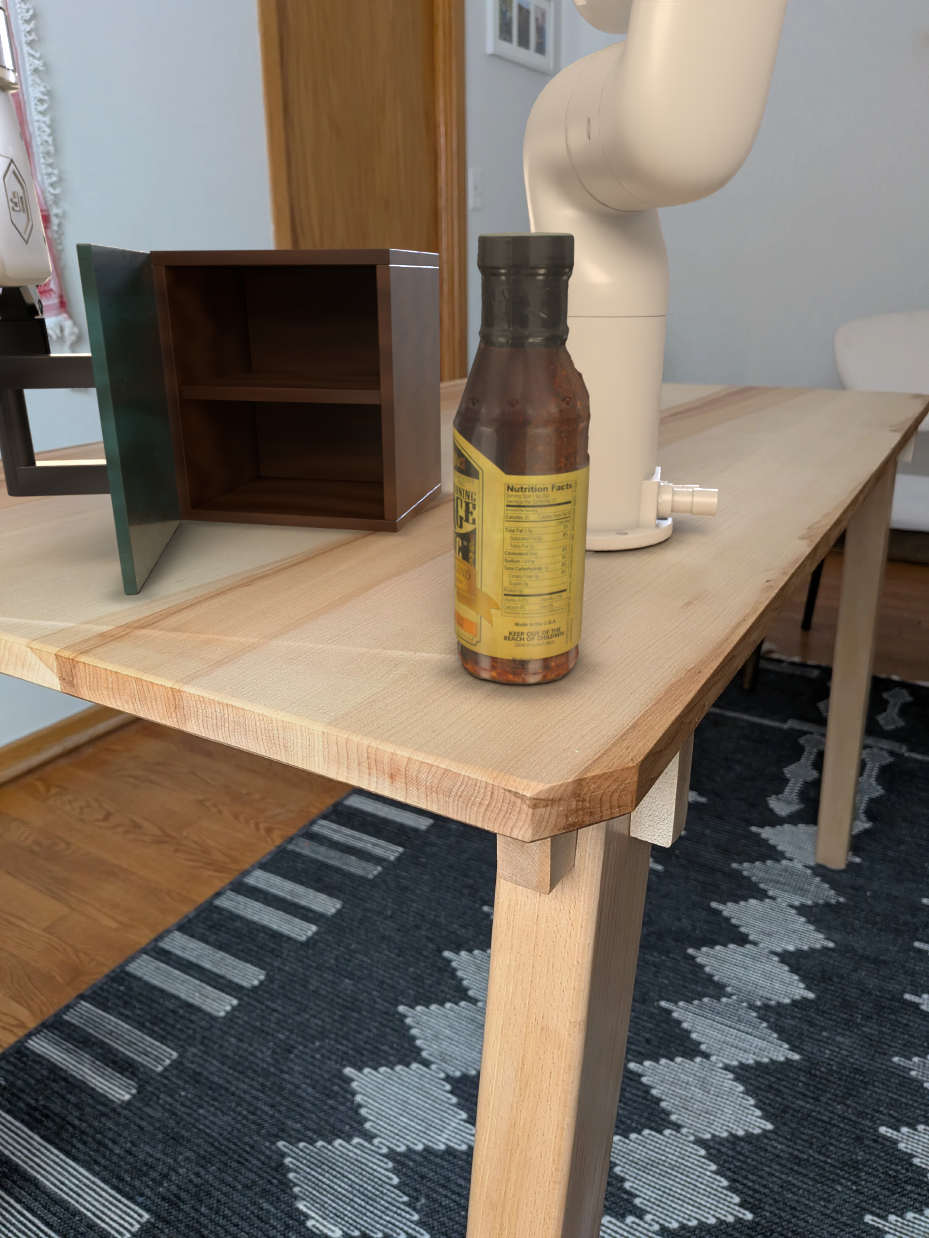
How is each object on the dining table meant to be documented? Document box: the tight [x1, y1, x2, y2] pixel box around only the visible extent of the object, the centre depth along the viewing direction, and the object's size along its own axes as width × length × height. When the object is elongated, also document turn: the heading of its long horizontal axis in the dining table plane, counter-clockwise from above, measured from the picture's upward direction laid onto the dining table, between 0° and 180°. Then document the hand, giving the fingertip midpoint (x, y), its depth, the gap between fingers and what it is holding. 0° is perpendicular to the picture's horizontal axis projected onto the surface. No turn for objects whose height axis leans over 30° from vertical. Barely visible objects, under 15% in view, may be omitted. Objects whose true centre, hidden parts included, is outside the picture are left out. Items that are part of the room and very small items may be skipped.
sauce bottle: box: [452, 232, 591, 685], centre depth 42 cm, size 7×6×20 cm
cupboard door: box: [0, 243, 182, 595], centre depth 60 cm, size 7×18×20 cm, turn 8°
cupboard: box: [149, 248, 442, 533], centre depth 74 cm, size 14×18×20 cm
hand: (2, 395), depth 53 cm, fingers open, 9 cm apart
